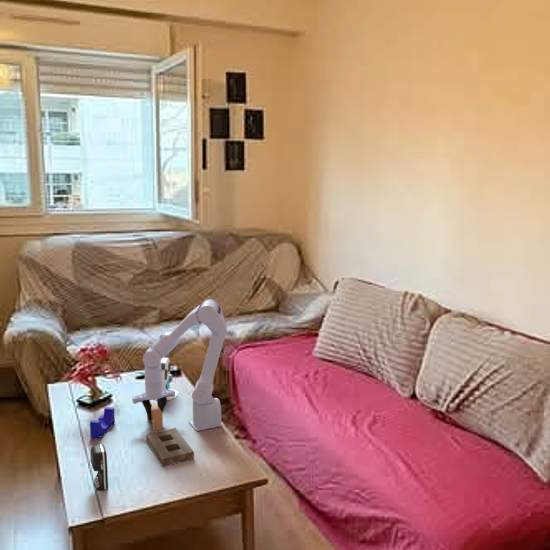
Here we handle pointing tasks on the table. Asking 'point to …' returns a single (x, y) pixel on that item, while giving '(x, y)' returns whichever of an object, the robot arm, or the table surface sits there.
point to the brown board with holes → (169, 446)
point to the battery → (99, 466)
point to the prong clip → (156, 416)
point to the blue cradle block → (102, 423)
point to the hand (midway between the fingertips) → (154, 418)
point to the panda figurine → (166, 375)
